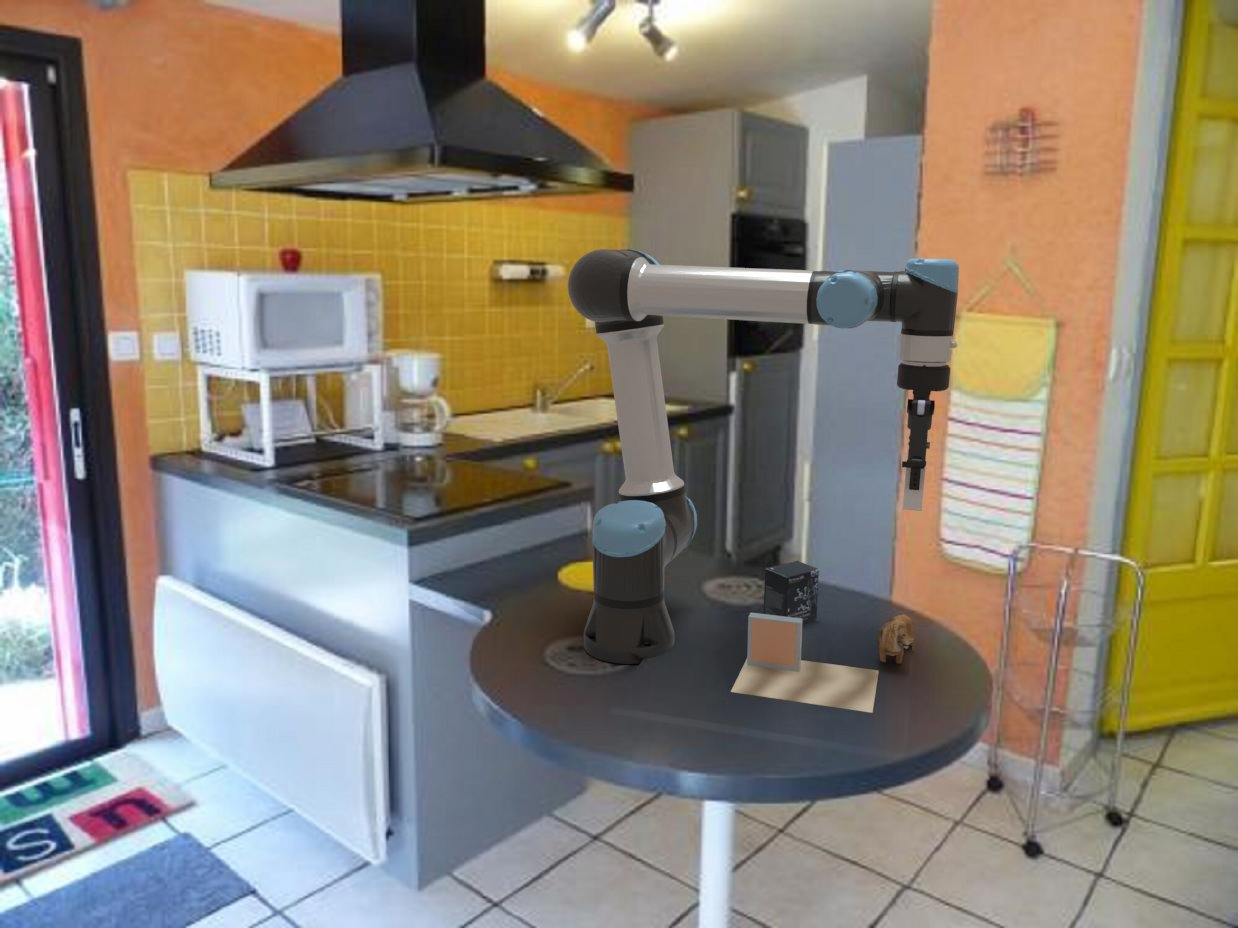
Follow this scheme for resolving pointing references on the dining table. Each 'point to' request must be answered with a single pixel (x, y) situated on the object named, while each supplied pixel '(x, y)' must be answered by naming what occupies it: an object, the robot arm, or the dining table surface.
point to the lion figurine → (896, 637)
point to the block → (774, 642)
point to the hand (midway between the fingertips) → (912, 498)
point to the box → (792, 591)
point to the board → (812, 685)
